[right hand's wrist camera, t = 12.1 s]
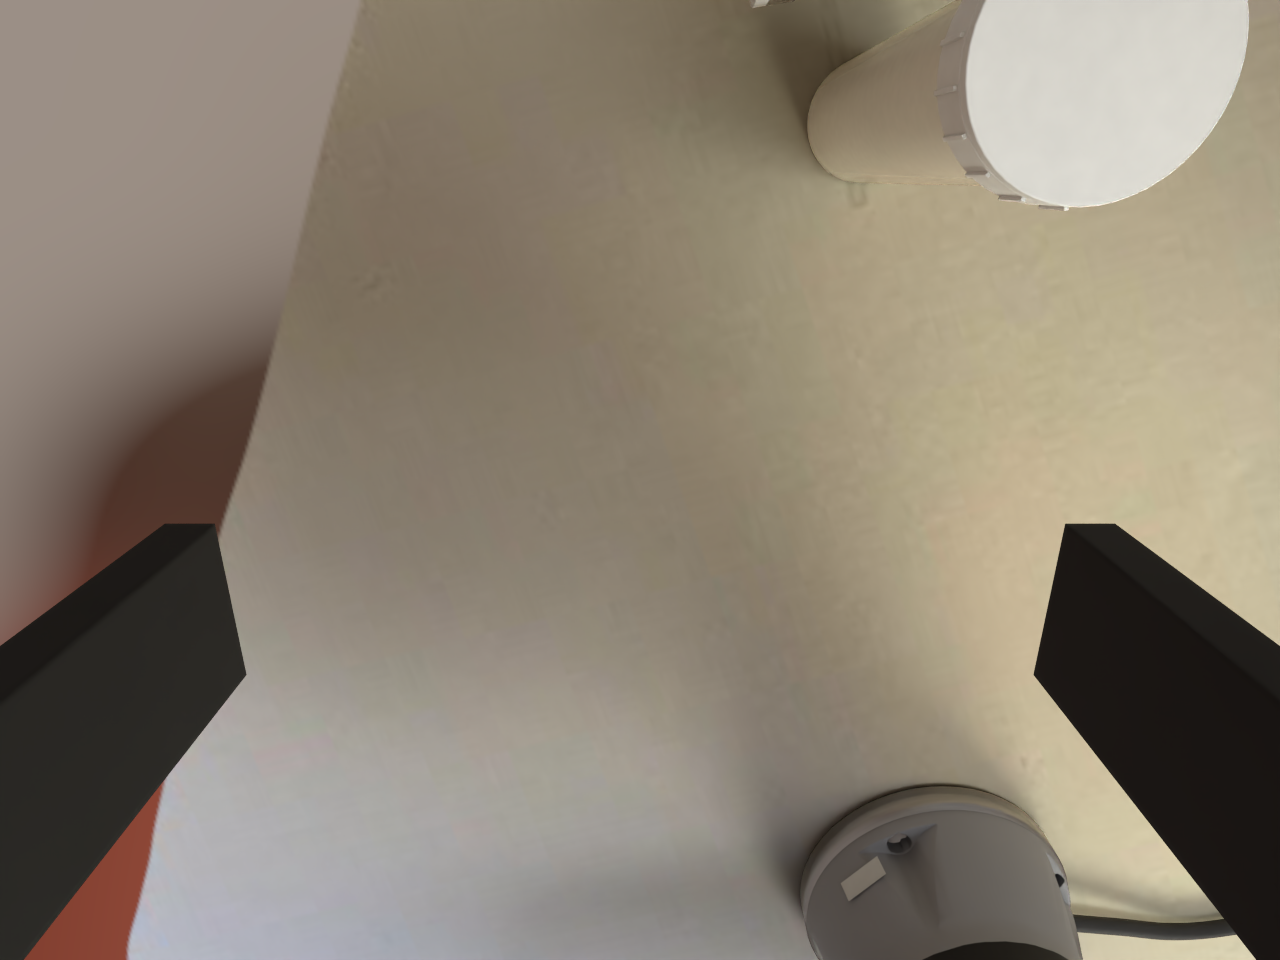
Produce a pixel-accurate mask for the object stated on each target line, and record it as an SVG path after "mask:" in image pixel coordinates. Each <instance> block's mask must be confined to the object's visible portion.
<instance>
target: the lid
mask: <svg viewBox="0 0 1280 960" xmlns="http://www.w3.org/2000/svg"><path fill="white" fill-rule="evenodd" d="M1248 27H1249V10H1248V0H962V2H961V4H960V6H959V8H958V9H957V11H956V13H955V15H954V17H953V19H952V21H951V24H950V27H949V29H948V32H947V34H946V37H945V39H943V40H941V42H940V46H943V47H942V51H941V55H940V60H939V67H938V74H937V90H936V91H934V96H937V102H938V112H939V116H940V121H941V126H942V129H943V132H944V135H945V136H944V137H942V139H943V142H947V143H948V145H949V147H950V149H951V150H952V152H953V154H954V156H955V158H956V159H957V161H958V162H959V163H960V165H961V166H962V167H963V169H964V170H965V171H966V172H967V173H966V174H965V176H966V177H967V178H973V179H974V180H975V181H976V182H978V183H979V184H980V185H982V186H983V187H984V188H986V189H987V190H989V191H991V192H993V193H995V194H997V195H998V196H999V198H998V200H1001V201H1012V202H1020V203H1026V204H1033V205H1039V209H1051V210H1064V211H1068V208H1069V207H1090V206H1099V205H1104V204H1108V203H1113V202H1117V201H1119V200H1122V199H1125V198H1127V197H1130V196H1133V195H1135V194H1137V193H1139V192H1141V191H1143V190H1145V189H1147V188H1149V187H1151V186H1153V185H1154V184H1156V183H1157V182H1159V181H1160V180H1162V179H1163V178H1165V177H1166V176H1168V175H1169V174H1170V173H1171V172H1173V171H1174V170H1175V169H1176V168H1178V167H1179V166H1180V165H1181V164H1182V163H1184V162H1185V161H1186V160H1187V159H1188V158H1189V157H1190V156H1191V155H1192V154H1193V153H1194V152H1195V151H1196V150H1197V149H1198V147H1199V146H1200V145H1201V144H1202V142H1203V141H1204V140H1205V139H1206V137H1207V136H1208V135H1209V134H1210V132H1211V131H1212V130H1213V128H1214V126H1215V125H1216V123H1217V122H1218V120H1219V119H1220V117H1221V116H1222V114H1223V112H1224V110H1225V108H1226V106H1227V104H1228V102H1229V101H1230V99H1231V97H1232V94H1233V92H1234V89H1235V87H1236V84H1237V82H1238V79H1239V76H1240V73H1241V69H1242V65H1243V62H1244V58H1245V53H1246V47H1247V40H1248Z"/></svg>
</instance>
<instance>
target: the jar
mask: <svg viewBox="0 0 1280 960" xmlns="http://www.w3.org/2000/svg"><path fill="white" fill-rule="evenodd" d="M961 2H962V0H955V1H954V2H952V3H950V4H948V5H947V6H945V7H943V8H941V9H940V10H938V11H936V12H934V13H932V14H931V15H929V16H927V17H925V18H924V19H922V20H920V21H918V22H916V23H915V24H913V25H911V26H909V27H908V28H906V29H904V30H902V31H901V32H899V33H897V34H895V35H893V36H892V37H890V38H888V39H886V40H885V41H883V42H881V43H879V44H878V45H876V46H874V47H872V48H870V49H869V50H867V51H865V52H863V53H862V54H860V55H858V56H856V57H854V58H853V59H851V60H849V61H847V62H846V63H844V64H842V65H840V66H839V67H837V68H836V69H835V70H833V71H832V72H831V73H830V74H829V75H828V76H827V77H826V78H825V79H824V81H823V82H822V83H821V84H820V86H819V88H818V89H817V91H816V93H815V95H814V97H813V99H812V102H811V105H810V109H809V113H808V121H807V132H808V139H809V143H810V146H811V149H812V151H813V154H814V156H815V157H816V159H817V161H818V162H819V163H820V164H821V166H822V167H823V168H824V169H825V170H826V171H827V172H829V173H830V174H831V175H833V176H835V177H837V178H839V179H841V180H844V181H847V182H852V183H879V184H924V185H969V186H982V185H980V184H979V183H978V182H976V181H975V180H974V179H973V178H967V177H966V176H965V174H966V173H967V172H966V171H965V170H964V169H963V167H962V166H961V165H960V163H959V162H958V161H957V159H956V158H955V156H954V154H953V152H952V150H951V149H950V147H949V145H948V143H947V142H943V139H942V137H944V136H945V135H944V132H943V129H942V126H941V121H940V116H939V112H938V102H937V96H934V91H936V90H937V74H938V67H939V60H940V55H941V51H942V47H943V46H940V42H941V40H943V39H945V37H946V34H947V32H948V29H949V27H950V24H951V21H952V19H953V17H954V15H955V13H956V11H957V9H958V8H959V6H960V4H961Z"/></svg>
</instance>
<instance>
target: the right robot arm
mask: <svg viewBox="0 0 1280 960" xmlns="http://www.w3.org/2000/svg"><path fill="white" fill-rule="evenodd" d="M245 676H246V670H245V666H244V661H243V656H242V651H241V647H240V642H239V637H238V632H237V628H236V623H235V618H234V613H233V609H232V604H231V599H230V594H229V590H228V585H227V580H226V575H225V571H224V566H223V561H222V556H221V552H220V547H219V542H218V537H217V533H216V528H215V524H164V525H163V526H161V527H160V528H159V529H157V530H156V531H155V532H153V533H152V534H151V535H149V536H148V537H147V538H145V539H144V540H142V541H141V542H140V543H138V544H137V545H136V546H134V547H133V548H132V549H130V550H129V551H128V552H126V553H125V554H124V555H122V556H121V557H120V558H118V559H117V560H116V561H114V562H113V563H112V564H110V565H109V566H108V567H106V568H105V569H103V570H102V571H101V572H99V573H98V574H97V575H95V576H94V577H93V578H91V579H90V580H89V581H87V582H86V583H85V584H83V585H82V586H81V587H79V588H78V589H76V590H75V591H74V592H72V593H71V594H70V595H68V596H67V597H66V598H64V599H63V600H62V601H60V602H59V603H58V604H56V605H55V606H54V607H52V608H51V609H50V610H48V611H47V612H45V613H44V614H43V615H41V616H40V617H39V618H37V619H36V620H35V621H33V622H32V623H31V624H29V625H28V626H27V627H25V628H24V629H23V630H21V631H20V632H19V633H17V634H16V635H15V636H13V637H12V638H11V639H9V640H8V641H6V642H5V643H4V644H2V645H1V646H0V960H24V959H25V957H26V956H27V955H28V954H29V952H30V951H31V950H32V948H33V947H34V946H35V945H36V943H37V942H38V941H39V939H40V938H41V937H42V936H43V934H44V933H45V932H46V931H47V929H48V928H49V927H50V925H51V924H52V923H53V922H54V920H55V919H56V918H57V916H58V915H59V914H60V913H61V911H62V910H63V909H64V907H65V906H66V905H67V904H68V902H69V901H70V900H71V899H72V897H73V896H74V895H75V893H76V892H77V891H78V890H79V888H80V887H81V886H82V884H83V883H84V882H85V881H86V879H87V878H88V877H89V875H90V874H91V873H92V872H93V870H94V869H95V868H96V867H97V865H98V864H99V863H100V861H101V860H102V859H103V858H104V856H105V855H106V854H107V852H108V851H109V850H110V849H111V847H112V846H113V845H114V844H115V842H116V841H117V840H118V838H119V837H120V836H121V834H122V833H123V832H124V831H125V829H126V828H127V827H128V826H129V824H130V823H131V822H132V820H133V819H134V818H135V817H136V815H137V814H138V813H139V812H140V810H141V809H142V808H143V806H144V805H145V804H146V803H147V801H148V800H149V799H150V797H151V796H152V795H153V794H154V792H155V791H156V790H157V788H158V787H159V786H160V785H161V783H162V782H163V781H164V780H165V778H166V777H167V776H168V774H169V773H170V772H171V771H172V769H173V768H174V767H175V765H176V764H177V763H178V762H179V760H180V759H181V758H182V756H183V755H184V754H185V753H186V751H187V750H188V749H189V748H190V746H191V745H192V744H193V742H194V741H195V740H196V739H197V737H198V736H199V735H200V733H201V732H202V731H203V730H204V728H205V727H206V726H207V725H208V723H209V722H210V721H211V719H212V718H213V717H214V716H215V714H216V713H217V712H218V710H219V709H220V708H221V707H222V705H223V704H224V703H225V701H226V700H227V699H228V698H229V696H230V695H231V694H232V693H233V691H234V690H235V689H236V687H237V686H238V685H239V684H240V682H241V681H242V680H243V678H244V677H245ZM1034 676H1035V677H1036V678H1037V680H1038V681H1039V682H1040V684H1041V685H1042V686H1043V687H1044V689H1045V690H1046V691H1047V693H1048V694H1049V695H1050V696H1051V698H1052V699H1053V700H1054V701H1055V703H1056V704H1057V705H1058V707H1059V708H1060V709H1061V710H1062V712H1063V713H1064V714H1065V716H1066V717H1067V718H1068V719H1069V721H1070V722H1071V723H1072V725H1073V726H1074V727H1075V728H1076V730H1077V731H1078V732H1079V733H1080V735H1081V736H1082V737H1083V739H1084V740H1085V741H1086V742H1087V744H1088V745H1089V746H1090V748H1091V749H1092V750H1093V751H1094V753H1095V754H1096V755H1097V756H1098V758H1099V759H1100V760H1101V762H1102V763H1103V764H1104V765H1105V767H1106V768H1107V769H1108V771H1109V772H1110V773H1111V774H1112V776H1113V777H1114V778H1115V780H1116V781H1117V782H1118V783H1119V785H1120V786H1121V787H1122V788H1123V790H1124V791H1125V792H1126V794H1127V795H1128V796H1129V797H1130V799H1131V800H1132V801H1133V803H1134V804H1135V805H1136V806H1137V808H1138V809H1139V810H1140V812H1141V813H1142V814H1143V815H1144V817H1145V818H1146V819H1147V820H1148V822H1149V823H1150V824H1151V826H1152V827H1153V828H1154V829H1155V831H1156V832H1157V833H1158V835H1159V836H1160V837H1161V838H1162V840H1163V841H1164V842H1165V844H1166V845H1167V846H1168V847H1169V849H1170V850H1171V851H1172V852H1173V854H1174V855H1175V856H1176V858H1177V859H1178V860H1179V861H1180V863H1181V864H1182V865H1183V867H1184V868H1185V869H1186V870H1187V872H1188V873H1189V874H1190V875H1191V877H1192V878H1193V879H1194V881H1195V882H1196V883H1197V884H1198V886H1199V887H1200V888H1201V890H1202V891H1203V892H1204V893H1205V895H1206V896H1207V897H1208V899H1209V900H1210V901H1211V902H1212V904H1213V905H1214V906H1215V907H1216V909H1217V910H1218V911H1219V913H1220V914H1221V915H1222V916H1223V918H1224V919H1220V920H1213V921H1205V922H1195V923H1156V922H1146V921H1137V920H1129V919H1119V918H1107V917H1095V916H1083V915H1073V914H1072V911H1071V908H1070V894H1069V889H1068V883H1067V878H1066V874H1065V871H1064V868H1063V865H1062V863H1061V862H1060V860H1059V858H1058V856H1057V854H1056V853H1055V851H1054V849H1053V848H1052V846H1051V845H1050V843H1049V841H1048V840H1047V838H1046V836H1045V835H1044V833H1043V832H1042V830H1041V829H1040V828H1039V826H1038V825H1037V824H1036V823H1035V821H1034V820H1033V819H1032V818H1031V817H1030V816H1029V815H1027V814H1026V813H1025V812H1024V811H1023V810H1021V809H1020V808H1018V807H1017V806H1015V805H1014V804H1012V803H1010V802H1008V801H1006V800H1005V799H1002V798H1000V797H998V796H995V795H993V794H989V793H986V792H983V791H979V790H974V789H970V788H962V787H950V786H936V787H923V788H916V789H910V790H905V791H901V792H897V793H893V794H890V795H887V796H885V797H882V798H879V799H877V800H874V801H872V802H870V803H868V804H866V805H864V806H862V807H860V808H858V809H856V810H855V811H853V812H852V813H850V814H849V815H847V816H846V817H844V818H843V819H842V820H841V821H839V822H838V823H837V824H836V825H835V826H833V827H832V828H831V829H830V830H829V831H828V832H827V833H826V834H825V836H824V837H823V838H822V839H821V840H820V841H819V843H818V844H817V846H816V847H815V848H814V850H813V852H812V853H811V855H810V857H809V859H808V861H807V863H806V866H805V868H804V872H803V875H802V880H801V886H800V899H801V907H802V911H803V916H804V920H805V925H806V929H807V934H808V938H809V941H810V944H811V946H812V948H813V950H814V952H815V954H816V956H817V957H818V959H819V960H1083V958H1082V953H1081V948H1080V943H1079V938H1078V934H1077V932H1083V933H1095V934H1107V935H1120V936H1130V937H1139V938H1148V939H1159V940H1194V939H1207V938H1215V937H1223V936H1230V935H1236V934H1237V936H1238V937H1239V938H1240V939H1241V941H1242V942H1243V943H1244V945H1245V946H1246V947H1247V948H1248V950H1249V951H1250V952H1251V954H1252V955H1253V956H1254V957H1255V959H1256V960H1280V646H1279V645H1278V644H1276V643H1275V642H1274V641H1272V640H1271V639H1270V638H1268V637H1267V636H1265V635H1264V634H1263V633H1261V632H1260V631H1259V630H1257V629H1256V628H1255V627H1253V626H1252V625H1251V624H1249V623H1248V622H1247V621H1245V620H1244V619H1243V618H1241V617H1240V616H1239V615H1237V614H1236V613H1235V612H1233V611H1232V610H1230V609H1229V608H1228V607H1226V606H1225V605H1224V604H1222V603H1221V602H1220V601H1218V600H1217V599H1216V598H1214V597H1213V596H1212V595H1210V594H1209V593H1208V592H1206V591H1205V590H1204V589H1202V588H1201V587H1199V586H1198V585H1197V584H1195V583H1194V582H1193V581H1191V580H1190V579H1189V578H1187V577H1186V576H1185V575H1183V574H1182V573H1181V572H1179V571H1178V570H1177V569H1175V568H1174V567H1173V566H1171V565H1170V564H1169V563H1167V562H1166V561H1164V560H1163V559H1162V558H1160V557H1159V556H1158V555H1156V554H1155V553H1154V552H1152V551H1151V550H1150V549H1148V548H1147V547H1146V546H1144V545H1143V544H1142V543H1140V542H1139V541H1138V540H1136V539H1135V538H1133V537H1132V536H1131V535H1129V534H1128V533H1127V532H1125V531H1124V530H1123V529H1121V528H1120V527H1119V526H1117V525H1116V524H1065V528H1064V533H1063V537H1062V542H1061V547H1060V552H1059V556H1058V561H1057V566H1056V571H1055V575H1054V580H1053V585H1052V590H1051V594H1050V599H1049V604H1048V609H1047V613H1046V618H1045V623H1044V628H1043V632H1042V637H1041V642H1040V647H1039V651H1038V656H1037V661H1036V666H1035V670H1034Z"/></svg>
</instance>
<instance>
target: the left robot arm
mask: <svg viewBox="0 0 1280 960" xmlns="http://www.w3.org/2000/svg"><path fill="white" fill-rule="evenodd" d="M794 1H795V0H750V5H751V8H755V7H761V6H769V5H775V4H782V3H788V2H794Z"/></svg>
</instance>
